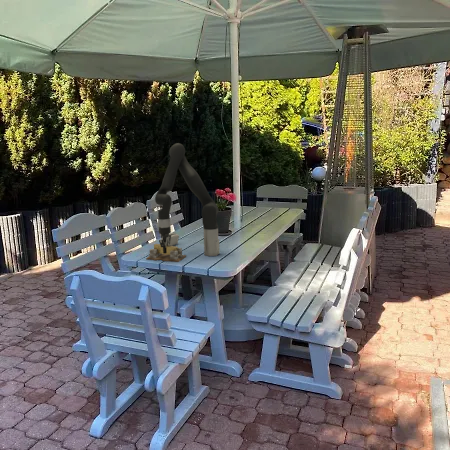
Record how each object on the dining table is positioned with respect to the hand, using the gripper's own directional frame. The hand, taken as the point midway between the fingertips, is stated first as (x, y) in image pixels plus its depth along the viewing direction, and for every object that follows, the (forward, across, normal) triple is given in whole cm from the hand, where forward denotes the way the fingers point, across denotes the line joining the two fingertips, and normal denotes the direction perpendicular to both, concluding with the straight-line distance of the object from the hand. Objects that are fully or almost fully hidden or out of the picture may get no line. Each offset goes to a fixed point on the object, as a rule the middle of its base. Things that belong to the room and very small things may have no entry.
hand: (165, 252), depth 288 cm
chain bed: (+4, 0, 0) cm, 4 cm away
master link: (+1, 0, 0) cm, 1 cm away
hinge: (+4, -29, -11) cm, 31 cm away
